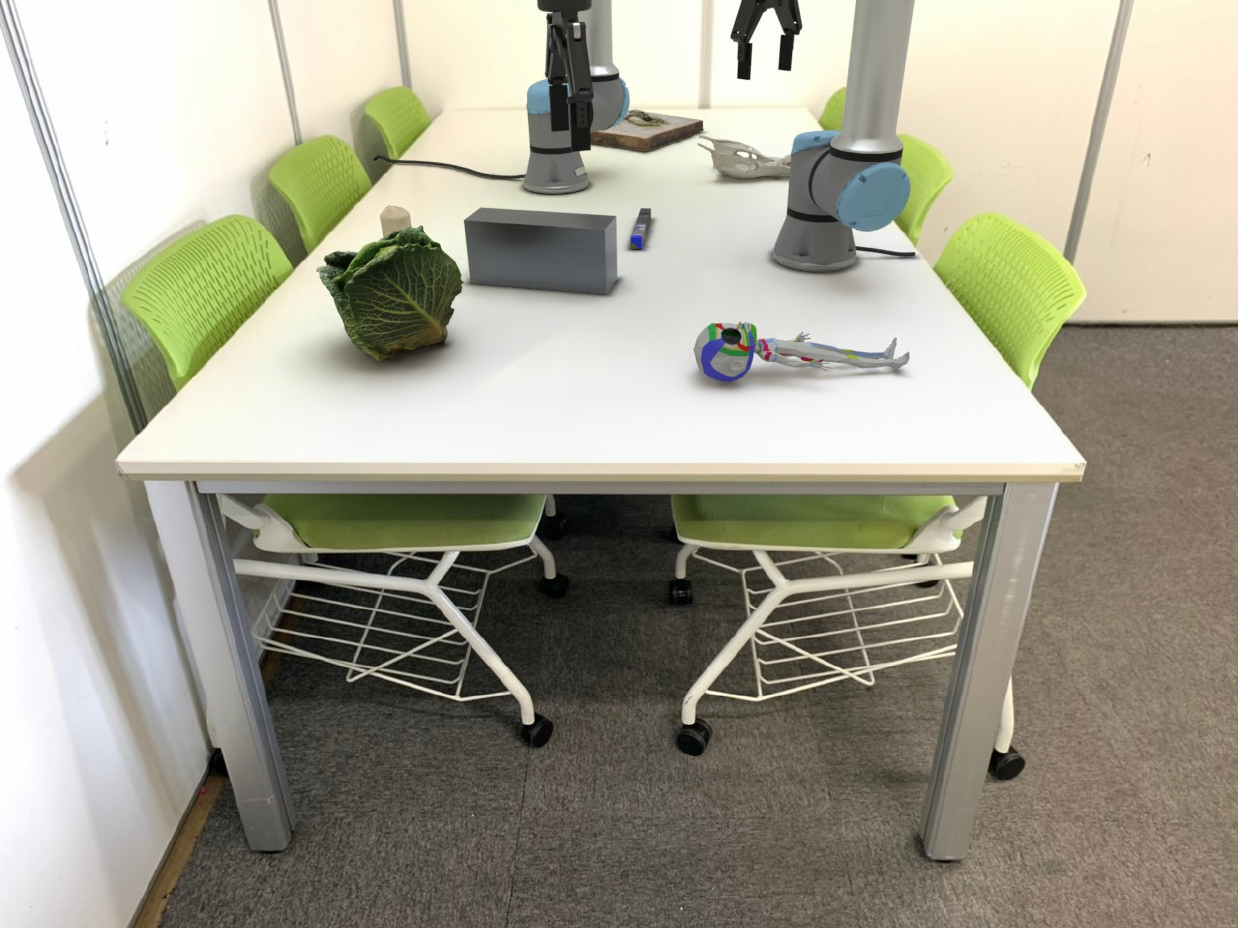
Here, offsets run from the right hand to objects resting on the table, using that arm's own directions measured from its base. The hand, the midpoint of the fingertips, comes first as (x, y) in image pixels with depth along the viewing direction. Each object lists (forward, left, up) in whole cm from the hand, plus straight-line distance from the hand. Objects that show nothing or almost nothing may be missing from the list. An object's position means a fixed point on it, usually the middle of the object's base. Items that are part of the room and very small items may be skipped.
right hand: (570, 140), depth 133 cm
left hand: (-50, -43, 0) cm, 66 cm away
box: (+2, -17, -28) cm, 33 cm away
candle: (+26, -37, -28) cm, 54 cm away
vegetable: (+29, +4, -28) cm, 40 cm away
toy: (-26, +30, -28) cm, 48 cm away
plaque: (-46, -124, -28) cm, 135 cm away
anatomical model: (-60, -72, -28) cm, 98 cm away
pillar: (-22, -38, -28) cm, 52 cm away
